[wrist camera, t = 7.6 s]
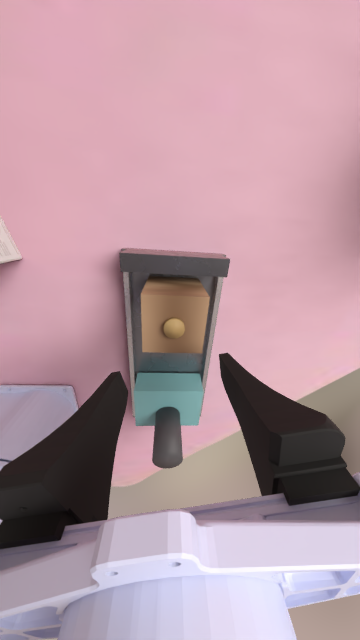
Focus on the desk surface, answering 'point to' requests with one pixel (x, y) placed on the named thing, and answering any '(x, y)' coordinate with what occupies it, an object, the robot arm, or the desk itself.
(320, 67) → the desk surface
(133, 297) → the tray
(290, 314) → the desk surface
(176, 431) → the ram
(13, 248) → the supplement box
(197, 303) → the wooden block with knob
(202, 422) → the desk surface
